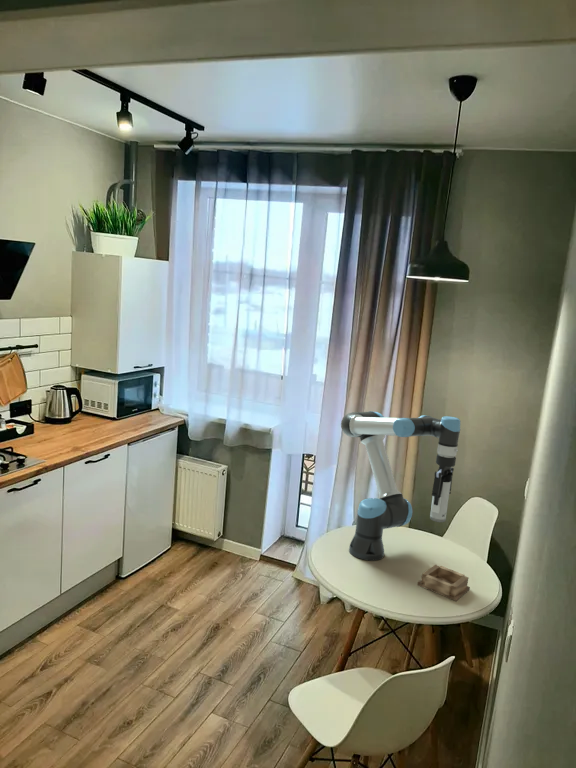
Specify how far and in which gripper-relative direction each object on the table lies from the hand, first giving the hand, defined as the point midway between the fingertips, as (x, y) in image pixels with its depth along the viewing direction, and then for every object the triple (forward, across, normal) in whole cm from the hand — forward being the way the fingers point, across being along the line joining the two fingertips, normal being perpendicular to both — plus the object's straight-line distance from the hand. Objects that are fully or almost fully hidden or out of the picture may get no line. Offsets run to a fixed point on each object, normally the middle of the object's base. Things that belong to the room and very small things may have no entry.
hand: (439, 510), depth 232 cm
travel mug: (+4, 0, 0) cm, 4 cm away
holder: (+27, -7, -9) cm, 30 cm away
